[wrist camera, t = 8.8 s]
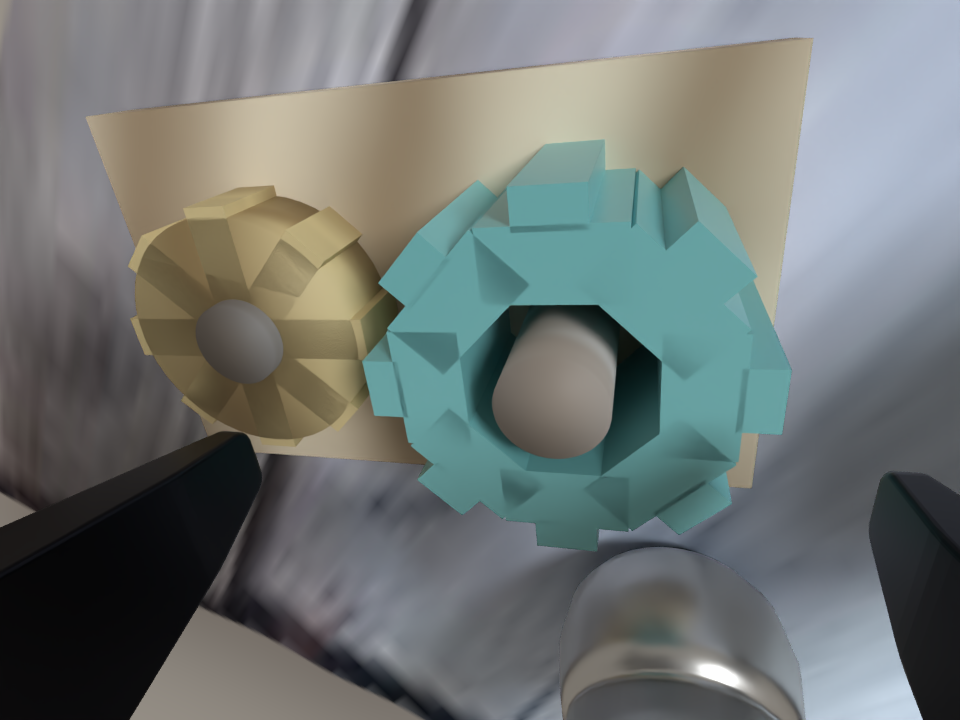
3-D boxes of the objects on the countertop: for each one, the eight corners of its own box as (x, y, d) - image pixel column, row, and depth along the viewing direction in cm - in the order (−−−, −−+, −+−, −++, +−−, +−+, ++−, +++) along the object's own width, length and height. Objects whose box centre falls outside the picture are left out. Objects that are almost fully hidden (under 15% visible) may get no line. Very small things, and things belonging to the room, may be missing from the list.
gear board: (795, 37, 12) (911, 42, 6) (743, 452, 16) (787, 645, 11) (130, 110, 16) (-117, 146, 11) (240, 423, 20) (103, 553, 15)
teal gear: (769, 126, 11) (822, 167, 8) (734, 441, 14) (762, 568, 11) (409, 154, 13) (325, 197, 10) (452, 427, 16) (400, 531, 13)
